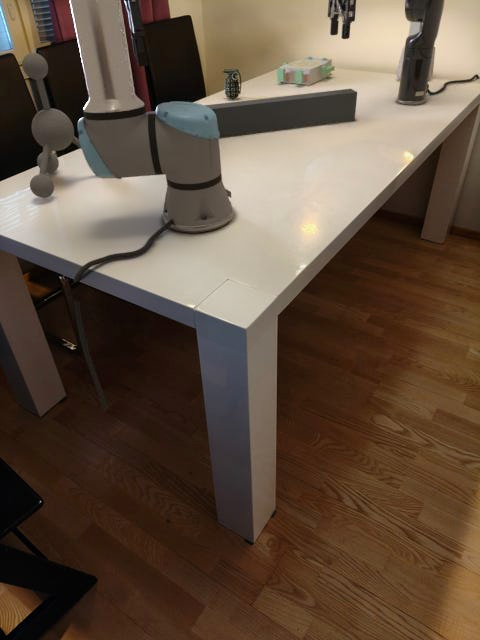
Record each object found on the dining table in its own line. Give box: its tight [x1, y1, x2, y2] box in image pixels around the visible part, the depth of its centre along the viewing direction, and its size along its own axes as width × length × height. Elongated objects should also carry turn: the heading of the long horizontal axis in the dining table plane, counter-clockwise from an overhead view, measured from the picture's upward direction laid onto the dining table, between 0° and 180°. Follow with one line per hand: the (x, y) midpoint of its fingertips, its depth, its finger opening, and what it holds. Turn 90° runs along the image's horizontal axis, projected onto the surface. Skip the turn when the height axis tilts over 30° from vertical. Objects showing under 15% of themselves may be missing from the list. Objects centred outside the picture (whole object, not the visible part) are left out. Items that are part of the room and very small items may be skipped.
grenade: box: [221, 68, 242, 100], centre depth 184 cm, size 7×6×10 cm
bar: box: [146, 88, 358, 139], centre depth 152 cm, size 70×5×9 cm, turn 104°
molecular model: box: [21, 52, 82, 199], centre depth 119 cm, size 24×22×30 cm
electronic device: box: [396, 22, 436, 81], centre depth 188 cm, size 12×8×30 cm, turn 105°
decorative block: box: [276, 56, 336, 86], centre depth 205 cm, size 26×6×20 cm
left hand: (141, 61), depth 136 cm, fingers open, 13 cm apart
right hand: (339, 36), depth 144 cm, fingers open, 8 cm apart
